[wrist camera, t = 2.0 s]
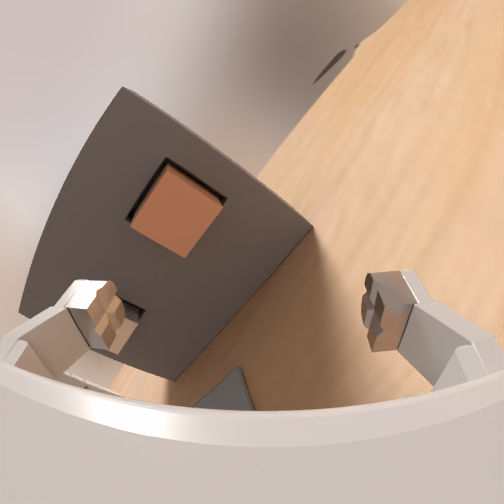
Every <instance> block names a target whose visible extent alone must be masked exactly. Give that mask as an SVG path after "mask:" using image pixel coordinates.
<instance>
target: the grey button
mask: <svg viewBox="0 0 504 504" xmlns="http://www.w3.org/2000/svg"><path fill="white" fill-rule="evenodd" d="M117 297H118V296H117ZM118 298H119V299H120V300H121V301H122V303H123V305H124V310H125V316H124V322H123V324H122V326H121V327H120V328H118V329H117V330H116V331H115V334H116V337H115V339H114V341H113V343H112V345H111V347H110V349H109V350H108V351H110V352H113V353H115V354H117V355H118V354H119V352H120V351H121V349H122V348H123V346H124V345H125V343H126V342H127V340H128V339H129V337H130V336H131V334H132V333H133V331H134V330H135V328H136V327H137V325H138V322H139V306H136V305H134V304H132V303H130V302H128V301H126V300H124V299H122V298H120V297H118Z"/></svg>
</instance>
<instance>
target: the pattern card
mask: <svg viewBox="0 0 504 504" xmlns="http://www.w3.org/2000/svg"><path fill="white" fill-rule="evenodd" d="M193 408H203V409H217V410H237V411H254V408H253V405H252V402H251V399H250V396H249V393H248V390H247V387H246V383H245V380H244V377H243V374H242V371H241V368H239V367H237V368H236V369H234V370H233V371H232V372H231V373H230V374H229V375H228V376H227V377H226V378H225V379H224V380H223V381H222V382H221V383H219V384H218V385H217V386H216V387H215V388H214V389H213V390H212V391H211V392H210V393H208V394H207V395H206V396H205V397H204V398H203V399H202V400H201V401H199V402H198V403H197V404H196V405H195V406H194V407H193Z"/></svg>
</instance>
